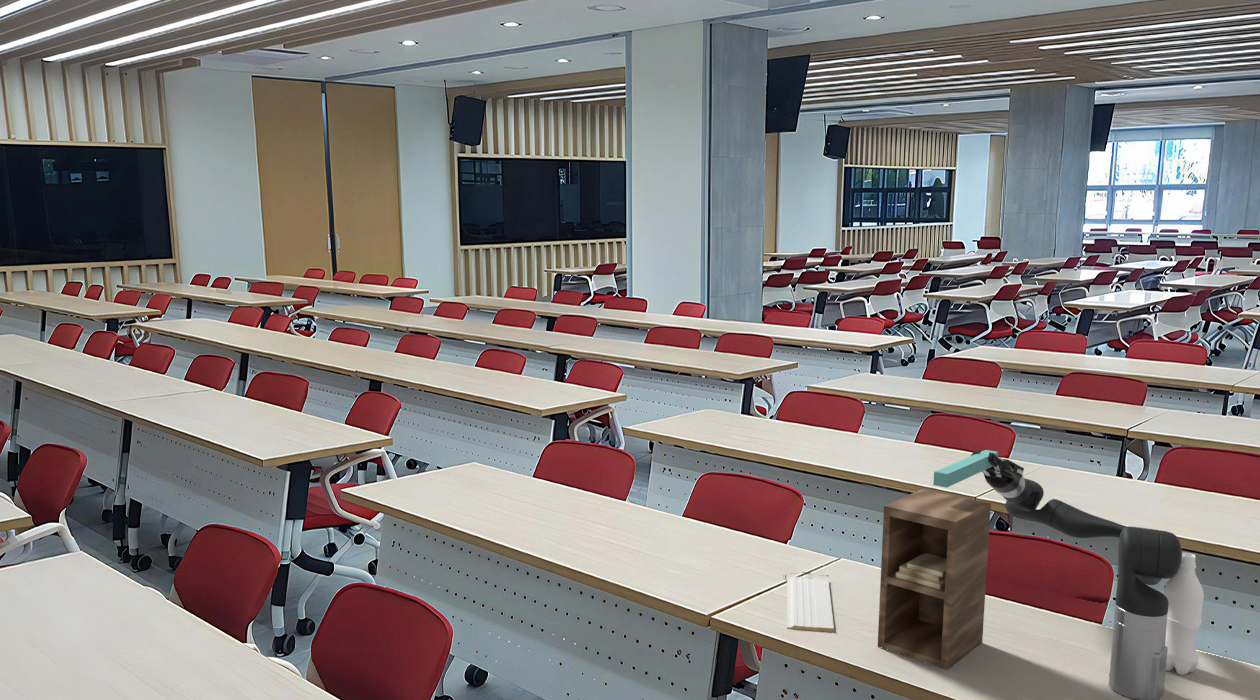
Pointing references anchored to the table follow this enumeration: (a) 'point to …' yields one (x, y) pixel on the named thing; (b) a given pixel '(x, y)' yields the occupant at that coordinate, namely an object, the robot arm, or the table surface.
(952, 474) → the rectangular block
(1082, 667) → the table surface
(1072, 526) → the robot arm
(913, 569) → the rack
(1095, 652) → the table surface
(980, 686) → the table surface
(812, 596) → the baseboard molding
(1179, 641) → the water bottle
